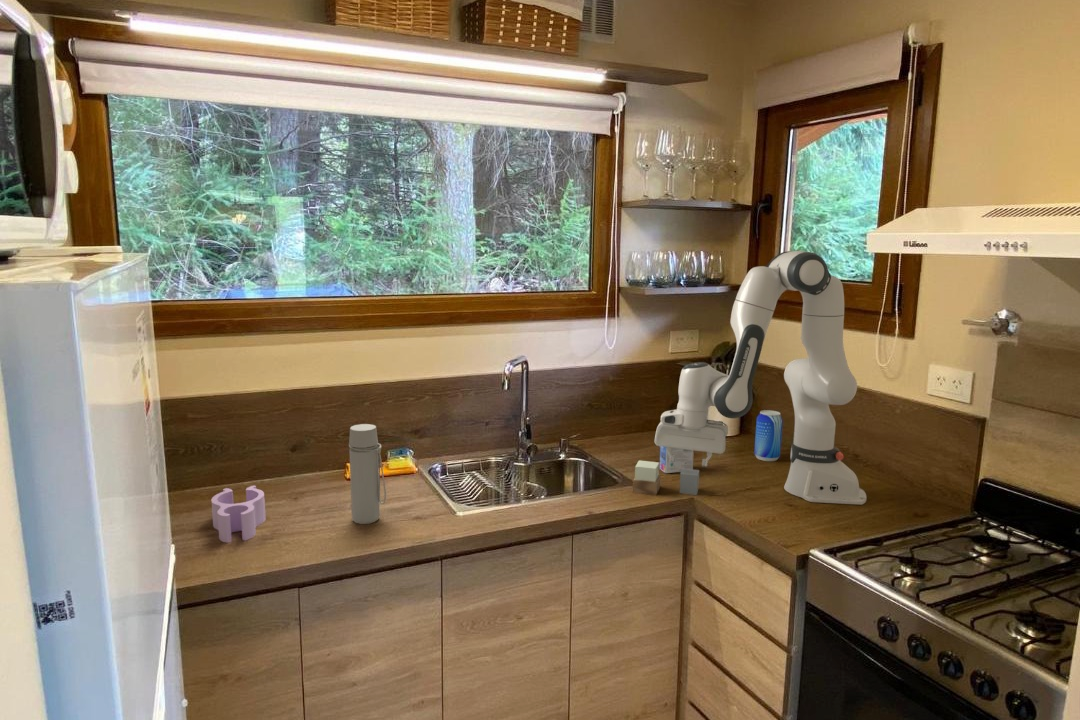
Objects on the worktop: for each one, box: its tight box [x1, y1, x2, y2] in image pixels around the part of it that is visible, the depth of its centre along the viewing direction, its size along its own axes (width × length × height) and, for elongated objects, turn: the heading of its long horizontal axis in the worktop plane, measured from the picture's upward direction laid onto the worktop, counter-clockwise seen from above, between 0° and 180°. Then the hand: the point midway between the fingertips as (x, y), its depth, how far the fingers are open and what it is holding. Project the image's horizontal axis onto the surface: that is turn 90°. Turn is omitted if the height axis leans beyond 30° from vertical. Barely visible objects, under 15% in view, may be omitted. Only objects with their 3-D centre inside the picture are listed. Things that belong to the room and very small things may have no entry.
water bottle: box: [348, 423, 387, 525], centre depth 181 cm, size 9×8×25 cm
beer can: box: [753, 409, 784, 462], centre depth 238 cm, size 8×8×16 cm
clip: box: [210, 485, 267, 543], centre depth 178 cm, size 20×12×7 cm, turn 20°
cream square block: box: [634, 460, 660, 482], centre depth 207 cm, size 6×6×4 cm
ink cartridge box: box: [659, 446, 694, 474], centre depth 225 cm, size 10×6×14 cm, turn 106°
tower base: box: [632, 474, 661, 496], centre depth 207 cm, size 7×7×4 cm
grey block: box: [679, 468, 700, 496], centre depth 207 cm, size 5×5×6 cm
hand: (688, 463), depth 206 cm, fingers open, 8 cm apart
